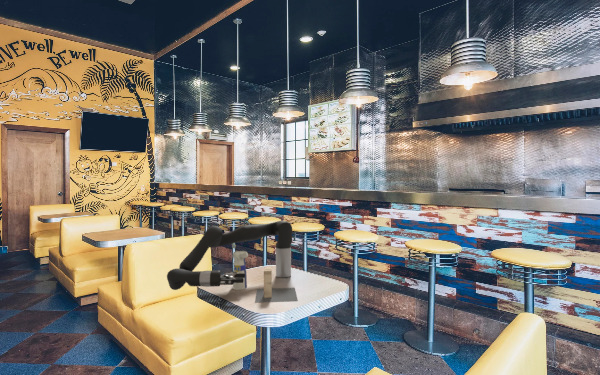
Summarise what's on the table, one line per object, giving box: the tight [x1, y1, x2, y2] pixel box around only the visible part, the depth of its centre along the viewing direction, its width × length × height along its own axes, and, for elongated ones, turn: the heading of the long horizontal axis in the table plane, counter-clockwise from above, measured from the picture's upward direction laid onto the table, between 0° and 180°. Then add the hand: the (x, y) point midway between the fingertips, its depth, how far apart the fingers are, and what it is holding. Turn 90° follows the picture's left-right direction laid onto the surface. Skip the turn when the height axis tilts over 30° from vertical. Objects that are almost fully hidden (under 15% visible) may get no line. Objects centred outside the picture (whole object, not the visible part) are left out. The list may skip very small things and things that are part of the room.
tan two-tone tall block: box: [263, 267, 273, 298], centre depth 163 cm, size 6×4×13 cm, turn 5°
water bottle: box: [231, 243, 249, 291], centre depth 177 cm, size 8×9×25 cm
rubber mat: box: [254, 287, 299, 304], centre depth 165 cm, size 21×20×1 cm
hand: (244, 277), depth 162 cm, fingers open, 8 cm apart
